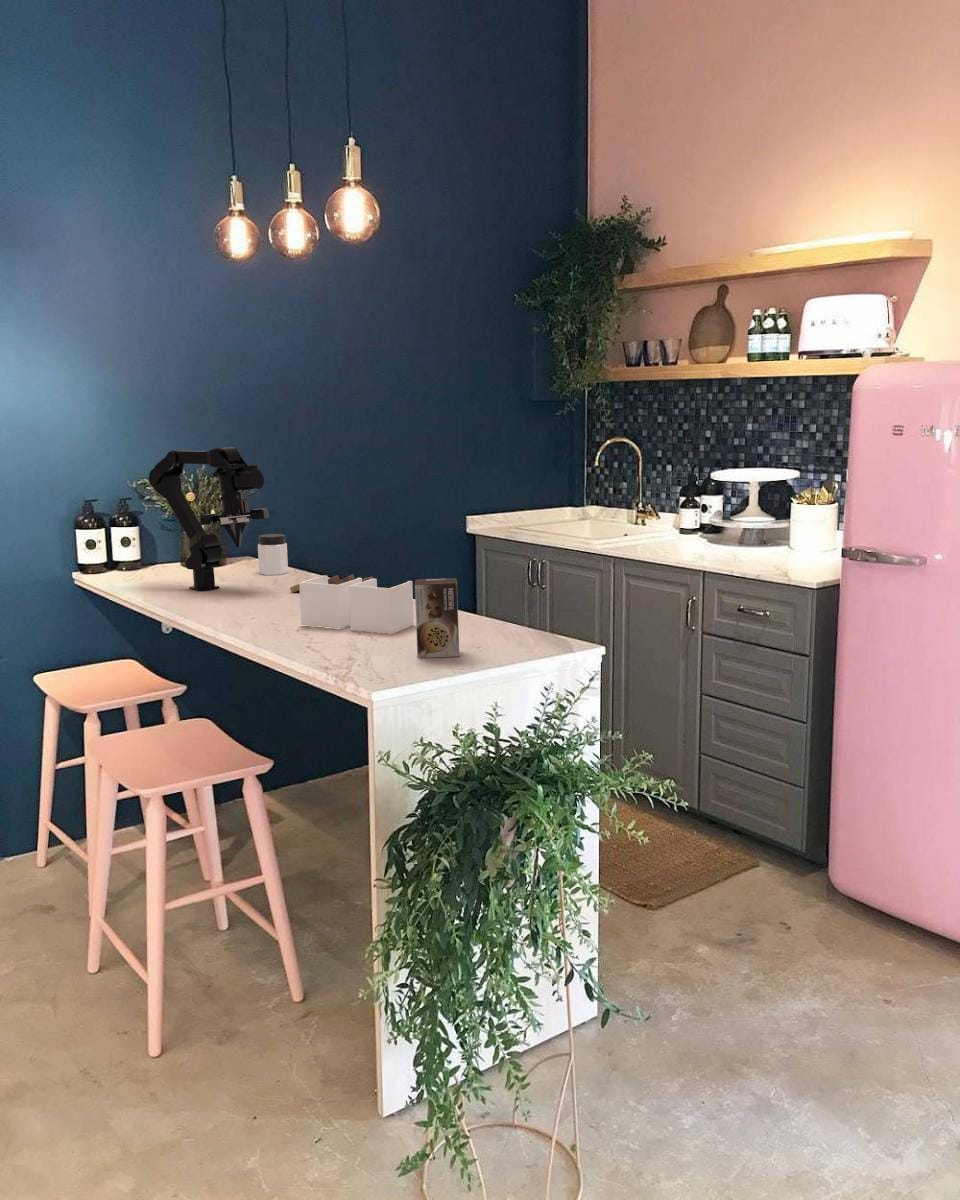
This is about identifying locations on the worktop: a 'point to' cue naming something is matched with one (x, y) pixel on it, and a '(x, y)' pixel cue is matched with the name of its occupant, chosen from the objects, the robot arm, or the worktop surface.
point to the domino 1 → (296, 587)
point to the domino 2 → (333, 579)
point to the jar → (272, 554)
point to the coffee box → (437, 618)
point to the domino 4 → (367, 578)
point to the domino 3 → (345, 580)
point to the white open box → (356, 605)
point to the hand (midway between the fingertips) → (238, 547)
